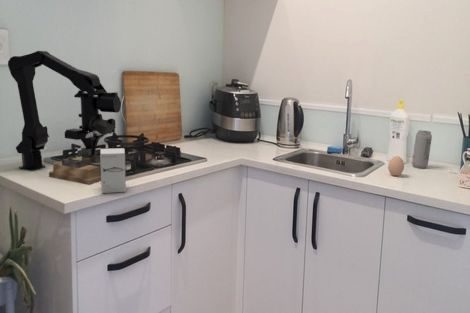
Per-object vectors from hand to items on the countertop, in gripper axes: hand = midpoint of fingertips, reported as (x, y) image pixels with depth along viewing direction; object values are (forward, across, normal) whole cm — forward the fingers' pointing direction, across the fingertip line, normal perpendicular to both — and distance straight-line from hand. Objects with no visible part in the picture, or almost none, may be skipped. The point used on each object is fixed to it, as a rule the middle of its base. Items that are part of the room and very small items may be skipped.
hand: (91, 155), depth 148 cm
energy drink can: (+6, +75, -106) cm, 130 cm away
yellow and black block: (+2, -5, 0) cm, 5 cm away
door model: (+6, -3, 0) cm, 7 cm away
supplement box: (+7, -11, -19) cm, 23 cm away
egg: (+6, +55, -97) cm, 112 cm away
